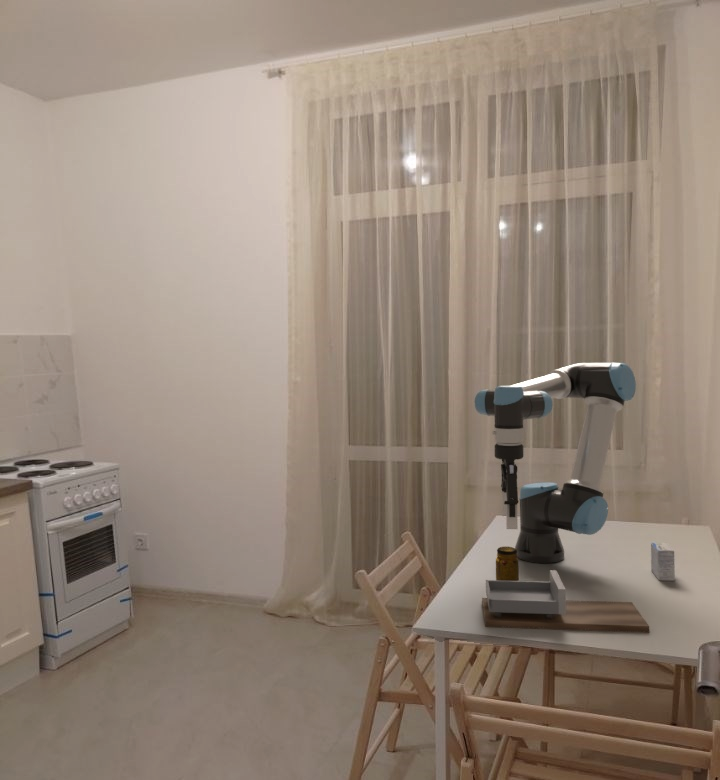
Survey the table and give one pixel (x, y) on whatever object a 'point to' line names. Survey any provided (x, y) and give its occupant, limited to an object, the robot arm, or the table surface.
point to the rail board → (575, 617)
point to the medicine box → (662, 561)
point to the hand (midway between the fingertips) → (509, 522)
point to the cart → (527, 596)
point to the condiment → (507, 564)
